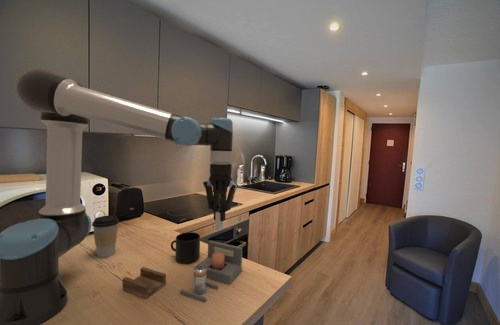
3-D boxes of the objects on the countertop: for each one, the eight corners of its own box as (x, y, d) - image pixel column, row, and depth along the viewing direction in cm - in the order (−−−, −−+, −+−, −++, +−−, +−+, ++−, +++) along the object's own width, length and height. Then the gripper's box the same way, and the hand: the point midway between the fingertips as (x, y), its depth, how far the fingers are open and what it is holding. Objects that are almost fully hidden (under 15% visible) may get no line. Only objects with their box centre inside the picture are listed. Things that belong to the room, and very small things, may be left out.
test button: (220, 270, 80) (220, 258, 80) (209, 267, 82) (209, 256, 82) (226, 264, 84) (226, 253, 84) (216, 261, 86) (216, 251, 86)
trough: (146, 298, 69) (146, 287, 68) (122, 289, 73) (122, 278, 72) (165, 284, 76) (165, 274, 76) (143, 276, 80) (143, 266, 80)
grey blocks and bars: (212, 304, 67) (212, 275, 66) (173, 291, 72) (174, 263, 72) (241, 271, 85) (242, 247, 85) (209, 262, 91) (209, 240, 90)
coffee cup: (88, 260, 89) (87, 222, 88) (97, 250, 98) (97, 215, 97) (115, 258, 91) (115, 221, 90) (122, 248, 100) (122, 214, 99)
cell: (201, 296, 71) (201, 271, 70) (190, 292, 72) (190, 268, 72) (208, 289, 74) (209, 265, 74) (198, 285, 76) (198, 262, 75)
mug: (175, 251, 99) (176, 230, 99) (202, 254, 98) (203, 233, 97) (165, 262, 90) (165, 239, 89) (194, 265, 89) (195, 242, 88)
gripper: (242, 163, 81) (240, 229, 83) (210, 161, 86) (209, 223, 88) (232, 165, 74) (230, 236, 76) (198, 162, 80) (197, 229, 81)
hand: (219, 229), depth 82 cm, fingers closed
